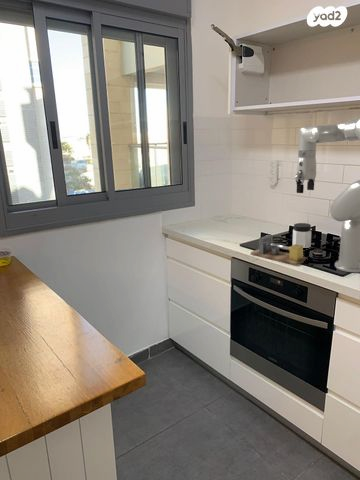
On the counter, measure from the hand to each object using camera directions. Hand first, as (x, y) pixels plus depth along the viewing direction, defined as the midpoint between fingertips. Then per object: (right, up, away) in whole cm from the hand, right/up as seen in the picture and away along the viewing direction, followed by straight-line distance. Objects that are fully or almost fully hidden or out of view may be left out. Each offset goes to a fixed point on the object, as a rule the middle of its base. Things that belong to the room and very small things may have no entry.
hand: (305, 191), depth 168 cm
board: (-12, -31, +3) cm, 34 cm away
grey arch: (-17, -30, +9) cm, 35 cm away
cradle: (-13, -31, +5) cm, 34 cm away
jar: (+3, -27, +16) cm, 31 cm away
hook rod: (-10, -31, 0) cm, 32 cm away
